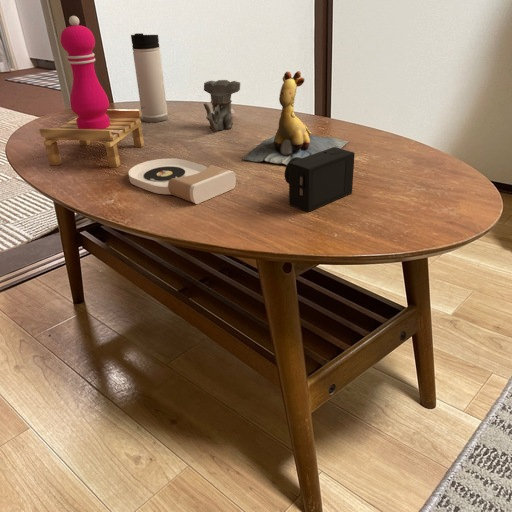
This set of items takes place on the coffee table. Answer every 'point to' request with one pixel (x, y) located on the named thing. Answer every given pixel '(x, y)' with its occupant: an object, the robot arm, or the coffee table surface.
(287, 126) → the stuffed giraffe
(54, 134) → the rack
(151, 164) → the record player
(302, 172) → the digital camera
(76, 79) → the pepper mill
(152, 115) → the travel mug
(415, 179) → the coffee table surface
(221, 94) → the grey flared upright piece
